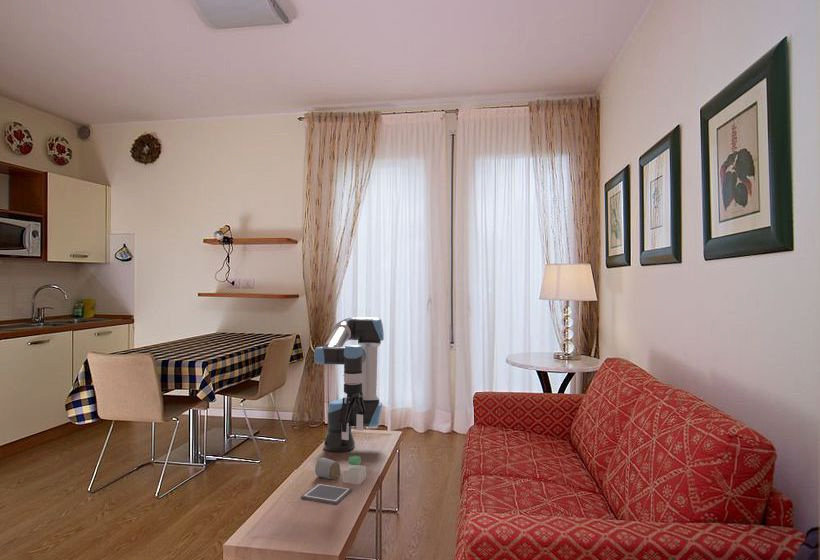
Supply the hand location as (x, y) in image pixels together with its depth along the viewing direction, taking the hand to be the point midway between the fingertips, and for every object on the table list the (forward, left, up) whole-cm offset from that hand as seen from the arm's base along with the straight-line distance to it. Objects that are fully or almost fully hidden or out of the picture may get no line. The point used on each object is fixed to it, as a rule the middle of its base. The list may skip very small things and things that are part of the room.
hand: (352, 434), depth 199 cm
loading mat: (+15, -3, -19) cm, 24 cm away
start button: (-1, +1, -12) cm, 12 cm away
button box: (-1, +1, -19) cm, 19 cm away
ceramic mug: (-1, -11, -19) cm, 22 cm away
